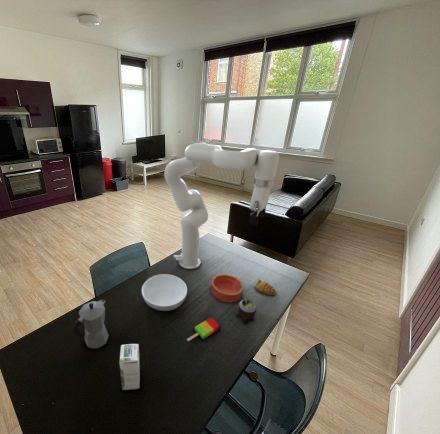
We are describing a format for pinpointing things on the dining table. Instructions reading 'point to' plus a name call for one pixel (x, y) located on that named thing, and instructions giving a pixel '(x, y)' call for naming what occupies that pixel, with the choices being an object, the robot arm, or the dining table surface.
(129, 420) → the dining table surface
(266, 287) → the pastry
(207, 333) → the popsicle
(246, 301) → the mate gourd
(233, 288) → the terracotta bowl
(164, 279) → the serving bowl
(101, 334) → the coffeepot
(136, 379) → the syrup box
